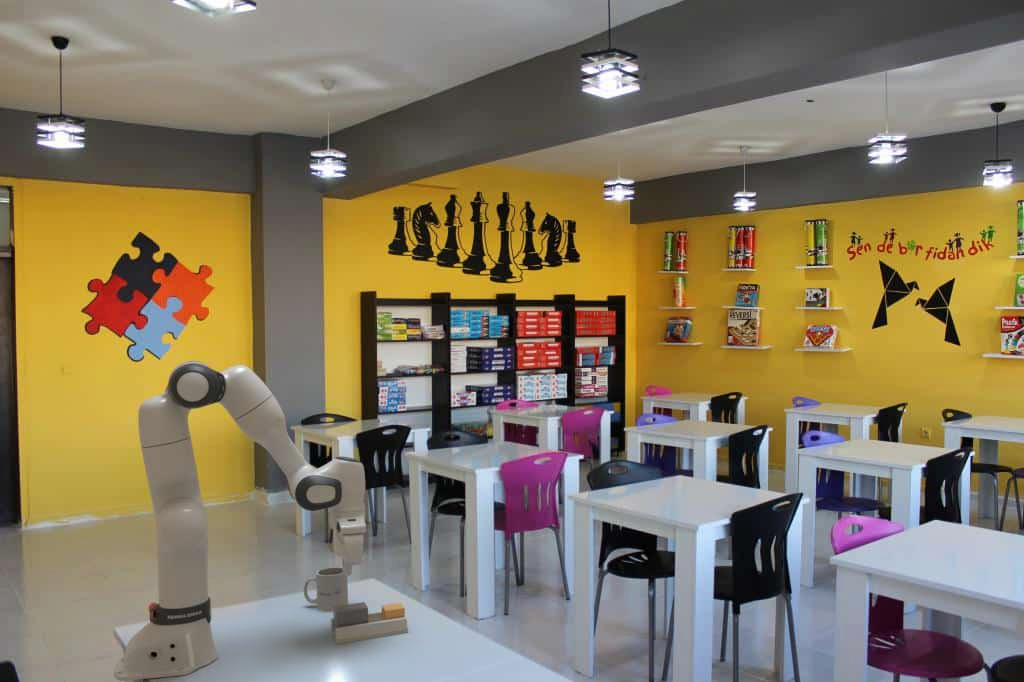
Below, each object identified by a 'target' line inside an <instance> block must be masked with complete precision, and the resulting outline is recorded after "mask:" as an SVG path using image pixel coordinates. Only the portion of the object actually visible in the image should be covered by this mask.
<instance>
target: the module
mask: <svg viewBox="0 0 1024 682" xmlns="http://www.w3.org/2000/svg"><path fill="white" fill-rule="evenodd" d="M332 613H333V618H334V631H335V633H336V630H335V628H339V627H345V626H352V625H358V624H365V623H368V613H369V607H368V605H367V604H366V603H365V602H364V601H362V602H357V603H348V605H341V606H334V607H333V611H332Z"/></svg>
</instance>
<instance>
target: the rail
mask: <svg viewBox="0 0 1024 682" xmlns="http://www.w3.org/2000/svg"><path fill="white" fill-rule="evenodd" d="M405 610H406V608H405V607H404V605H403V604H402V603H401V602H395V603H390V604H382V605H381V610H380V611H373V612H368V623H365V624H358V625H352V626H345V627H339V628H335V630H336V633H335V631H334V617H331V618H330V633H331V635H332V636H334V637H333V639H334V640H336V641H335V644H336V645H338V644H345V643H350V642H356V641H357V640H358V641H362V640H370V639H375V638H376V637H377V638H382V636H383V637H387V636H394V635H401V634H407V633H409V632H408V618H407V616H406V611H405ZM358 641H357V642H358Z"/></svg>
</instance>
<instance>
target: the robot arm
mask: <svg viewBox="0 0 1024 682" xmlns="http://www.w3.org/2000/svg"><path fill="white" fill-rule="evenodd" d="M216 403H218V404H220V405H221V406H222V407H223V408H224V409H225V410H226V411H227V413H228V415H230V417H231V418H232V420H233V421H234V423H235V424H236V426H238V427H239V429H240V430H241V431H242V432H243V433H244V434H245V435H246V436H247V437H248V438H249V439H250V440H252V441H253V442H255V443H257V444H259V445H260V446H262V447H263V448H264V449H265V450H266V451H267V452H268V453H269V454H270V456H271V457H272V459H273V460H274V461H275V462H276V464H277V465H278V467H279V468H280V469H281V471H282V472H283V474H284V477H285V478H286V484H287V488H288V489H287V490H288V492H289V496H291V498H292V500H294V501H295V502H296V504H298V506H299V507H301V508H302V509H303V510H305V511H308V512H309V511H310V512H318V511H321V510H325V509H329V515H330V516H329V528H330V529H331V530H334V548H335V550H336V551H337V553H338V554H339V556H340V557H341V563H342V568H343V573H344V574H345V576H347V577H348V576H349V577H350V576H351V575H352V574H353V566H357V565H361V564H362V560H363V554H364V552H363V551H364V542H365V541H364V533H366V532H367V523H366V505H365V501H364V500H365V499H364V498H365V494H366V475H365V473H366V472H365V467H364V465H363V462H361V461H360V460H358V459H356V458H352V457H349V456H348V457H347V456H336V457H333V459H331V461H329V462H327V463H326V464H324V465H322V466H320V467H316V466H315V465H313V464H311V463H310V462H309V461H307V460H306V458H304V456H303V455H302V453H301V452H300V450H299V449H298V448H297V446H296V444H295V443H294V442H293V440H292V439H291V437H290V436H289V433H288V431H287V423H286V422H287V421H286V419H287V418H286V416H285V414H284V412H283V409H282V407H281V405H280V403H279V401H278V400H277V398H276V397H275V396H274V394H273V393H272V391H271V390H270V389H269V387H268V386H267V384H265V383H264V381H263V380H262V379H261V378H260V377H259V376H258V374H257V373H255V371H253V370H252V369H251V368H250V367H248V366H247V365H243V364H241V365H239V364H238V365H233V366H231V367H228V368H227V369H225V370H222V371H220V372H219V371H217V370H216V369H213V368H211V366H209V365H208V364H206V363H204V362H202V361H197V360H190V361H185V362H182V363H180V364H178V365H177V366H176V367H175V368H174V369H173V370H172V371H171V373H170V374H169V378H168V382H167V386H166V388H165V391H164V393H162V394H159V395H155V396H152V397H149V398H148V399H145V400H144V401H143V402H142V403H141V404H140V405H139V407H138V408H139V409H138V412H137V413H138V415H137V417H138V418H137V421H138V436H139V442H140V449H141V453H142V460H143V463H144V468H145V475H146V478H147V479H146V480H147V484H148V487H149V488H148V489H149V494H150V497H151V498H150V499H151V503H152V506H153V507H152V509H153V511H154V516H155V522H156V525H155V526H156V543H157V544H156V545H157V546H156V547H157V548H156V550H157V587H158V603H157V602H151V603H150V604H149V605H148V609H147V610H148V612H149V622H148V623H146V624H145V625H144V626H143V627H142V628H141V629H140V630H138V631H137V632H136V633H135V634H134V635H133V636H132V637H131V638H130V639H129V640H128V643H127V645H126V647H125V652H124V655H123V656H124V657H122V658H121V659H119V660H118V661H117V662H116V664H115V665H114V666H115V667H114V669H113V676H114V678H115V679H116V680H117V681H119V682H123V681H124V682H127V681H134V680H135V681H137V680H146V679H157V678H166V677H176V676H178V677H179V676H185V675H189V674H191V673H193V672H194V671H195V670H197V669H200V668H203V667H204V666H207V665H209V664H211V663H212V662H213V661H215V660H216V659H217V658H218V656H219V655H218V652H217V648H216V645H215V642H214V637H213V633H212V626H211V621H212V602H211V601H212V600H211V597H210V596H209V576H208V575H209V574H208V571H209V570H208V564H209V563H208V560H209V559H208V558H209V557H208V556H209V553H208V552H209V551H208V550H209V528H208V526H209V525H208V523H209V522H208V521H209V520H208V517H207V514H206V511H205V508H204V503H203V498H202V492H201V486H200V482H199V473H198V468H197V462H196V458H195V452H194V448H193V442H192V437H191V433H190V432H191V431H190V427H189V414H190V412H191V410H192V409H193V410H194V409H200V408H201V409H202V408H203V407H206V406H210V405H213V404H216Z"/></svg>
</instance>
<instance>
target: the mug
mask: <svg viewBox="0 0 1024 682" xmlns="http://www.w3.org/2000/svg"><path fill="white" fill-rule="evenodd" d="M315 575H316V576H311V577H308V578H307V579H306V580H305V583H304V585H303V596H304V598H305V600H306V601H307V603H310V604H316V607H317V608H316V609H317V610H318V611H320V610H321V612H327V613H328V612H333V607H334V606H341V605H348V604H349V596H348V595H349V592H348V590H349V589H348V588H349V587H348V576H345V574H344V573H343V567H340V566H339V567H338V566H337V567H335V566H333V567H331V566H330V567H326V568H322V569H319V570H317V571H316V572H315ZM312 581H314V582H316V583H315V584H316V598H314V599H313V598H310V597H309V594H308V585H309V583H310V582H312Z"/></svg>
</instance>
